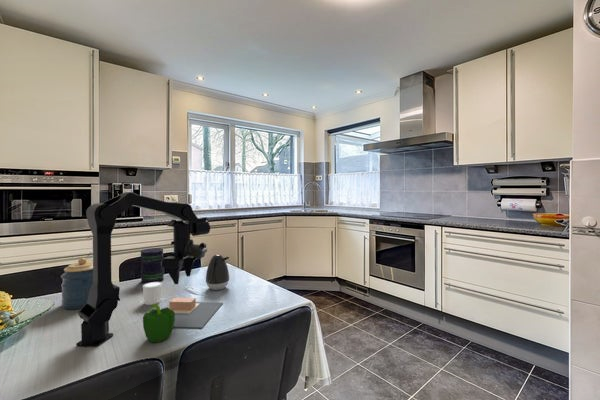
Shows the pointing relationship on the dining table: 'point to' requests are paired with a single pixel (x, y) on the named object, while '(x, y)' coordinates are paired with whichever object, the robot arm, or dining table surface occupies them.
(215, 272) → the pump dispenser
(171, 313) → the bell pepper
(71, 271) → the canister
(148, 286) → the white cup
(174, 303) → the flat block
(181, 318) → the rubber mat
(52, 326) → the dining table surface
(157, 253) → the storage jar
